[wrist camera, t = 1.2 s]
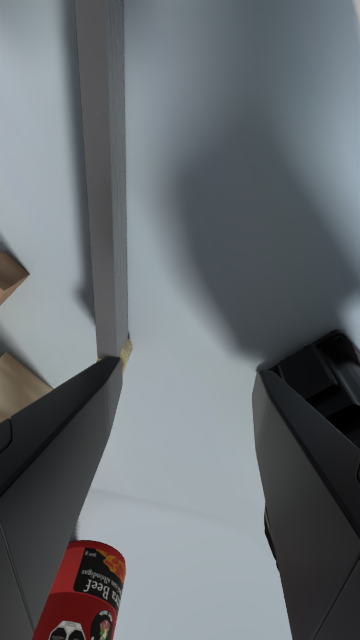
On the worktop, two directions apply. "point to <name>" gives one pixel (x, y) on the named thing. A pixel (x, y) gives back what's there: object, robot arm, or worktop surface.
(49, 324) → the worktop surface
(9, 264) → the walnut cradle
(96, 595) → the canned food
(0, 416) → the birch block
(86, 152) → the bar
